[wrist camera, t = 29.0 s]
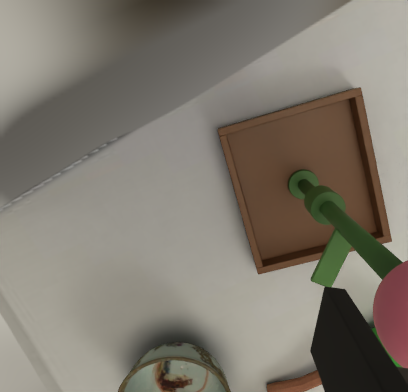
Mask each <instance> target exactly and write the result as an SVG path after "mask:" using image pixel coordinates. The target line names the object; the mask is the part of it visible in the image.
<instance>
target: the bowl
mask: <svg viewBox="0 0 408 392" xmlns="http://www.w3.org/2000/svg"><path fill="white" fill-rule="evenodd" d="M118 392H231V391H230V389H229V386H228V382H227V379H226V377H225V374H224V372H223V370H222V368H221V367H220V365H219V364H218V362H217V361H216V360H215V359H214V357H212V356H211V355H210V354H209V353H208V352H207V351H205V350H204V349H202V348H200V347H198V346H196V345H192V344H189V343H182V342H172V343H166V344H163V345H160V346H158V347H155V348H153V349H151V350H150V351H149V352H147V353H146V354H145V355H143V356H142V357H141V358H140V359H139V360H138V362H137V363H136V364H135V365H134V367H133V368H132V370H131V371H130V373H129V374H128V375H127V377H126V378H125V379H124V380H123V382H122V384H121V385H120V387H119V390H118Z"/></svg>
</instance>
